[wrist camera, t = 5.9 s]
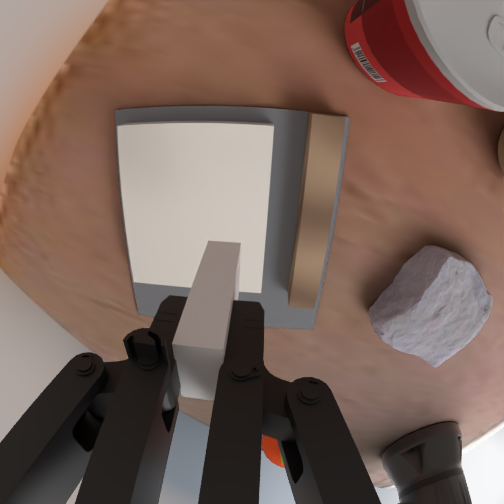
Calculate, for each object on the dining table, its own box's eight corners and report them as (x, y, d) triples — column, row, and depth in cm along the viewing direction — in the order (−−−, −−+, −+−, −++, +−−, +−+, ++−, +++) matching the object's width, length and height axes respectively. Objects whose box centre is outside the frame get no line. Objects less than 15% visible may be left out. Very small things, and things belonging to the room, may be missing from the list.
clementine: (251, 406, 34) (248, 457, 28) (308, 395, 33) (312, 448, 26) (272, 434, 38) (271, 478, 31) (322, 425, 36) (326, 470, 30)
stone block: (418, 223, 24) (355, 316, 27) (451, 240, 20) (377, 347, 22) (478, 278, 27) (426, 352, 30) (506, 298, 23) (448, 377, 25)
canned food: (433, 112, 18) (540, 143, 8) (330, 75, 17) (395, 60, 8) (449, 23, 14) (552, 6, 4) (349, -20, 14) (412, -91, 4)
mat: (312, 327, 27) (313, 329, 27) (139, 312, 28) (138, 314, 27) (348, 117, 19) (349, 117, 18) (116, 109, 19) (115, 110, 19)
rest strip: (311, 293, 25) (314, 308, 23) (287, 292, 25) (288, 307, 23) (338, 115, 18) (345, 118, 17) (308, 111, 18) (312, 113, 17)
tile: (261, 293, 23) (133, 281, 23) (261, 280, 25) (141, 270, 25) (274, 126, 17) (117, 125, 18) (273, 123, 19) (128, 122, 19)
